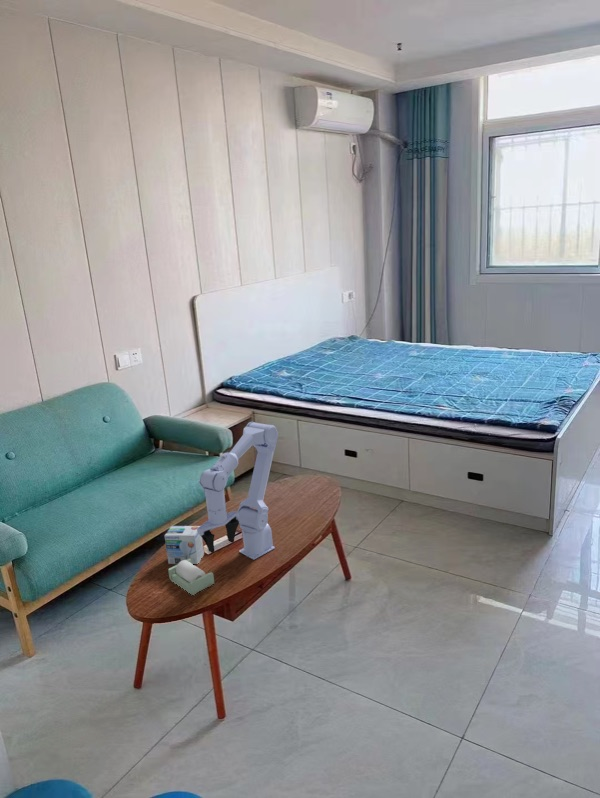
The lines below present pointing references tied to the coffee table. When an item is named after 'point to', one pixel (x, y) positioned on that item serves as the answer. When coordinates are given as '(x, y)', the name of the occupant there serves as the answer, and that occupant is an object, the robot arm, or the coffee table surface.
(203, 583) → the holder
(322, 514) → the coffee table surface
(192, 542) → the light bulb box
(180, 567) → the roll
